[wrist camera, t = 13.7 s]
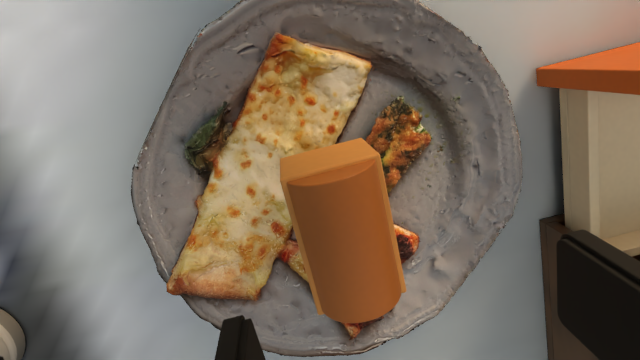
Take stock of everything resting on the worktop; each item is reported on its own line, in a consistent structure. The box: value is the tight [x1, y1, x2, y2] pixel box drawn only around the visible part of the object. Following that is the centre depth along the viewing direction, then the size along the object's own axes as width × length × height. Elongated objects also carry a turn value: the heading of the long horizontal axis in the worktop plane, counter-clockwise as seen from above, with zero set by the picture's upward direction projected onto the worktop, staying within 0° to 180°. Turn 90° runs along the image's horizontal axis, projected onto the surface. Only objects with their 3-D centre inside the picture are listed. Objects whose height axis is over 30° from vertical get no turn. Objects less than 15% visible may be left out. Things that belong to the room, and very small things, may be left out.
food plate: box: [131, 0, 523, 357], centre depth 25 cm, size 25×23×4 cm
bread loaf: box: [280, 138, 406, 323], centre depth 21 cm, size 8×5×6 cm, turn 14°
